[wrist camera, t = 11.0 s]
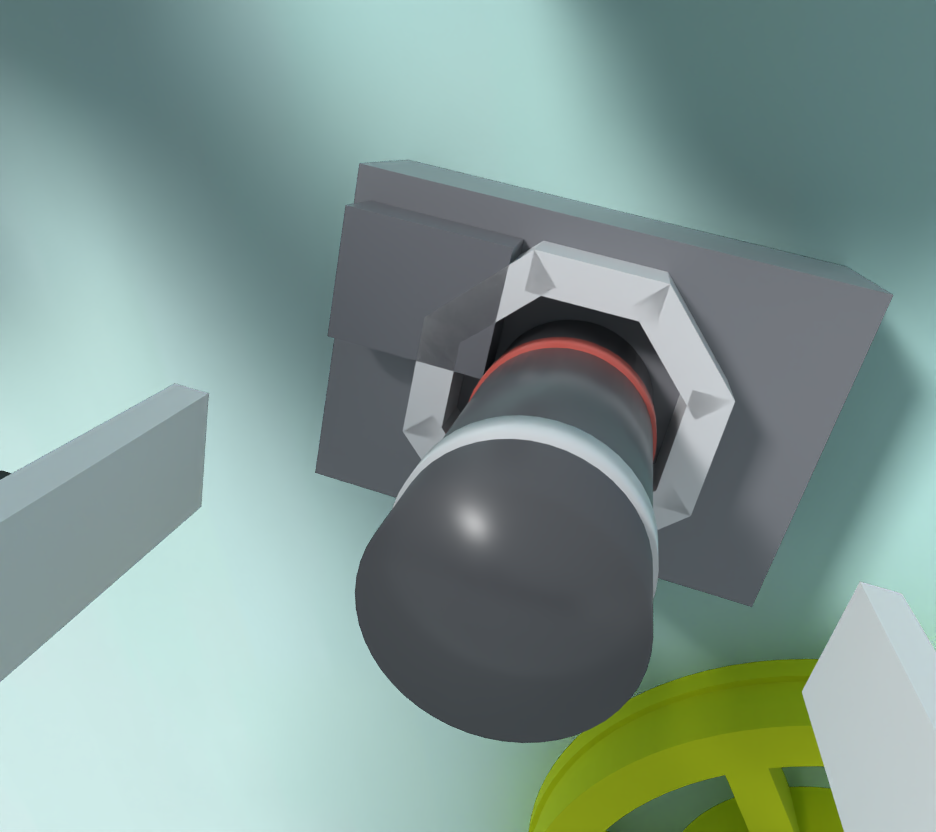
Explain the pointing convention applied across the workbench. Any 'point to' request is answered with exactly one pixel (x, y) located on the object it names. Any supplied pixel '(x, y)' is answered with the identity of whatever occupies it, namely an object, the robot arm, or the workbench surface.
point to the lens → (525, 546)
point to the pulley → (697, 755)
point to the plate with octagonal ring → (614, 307)
